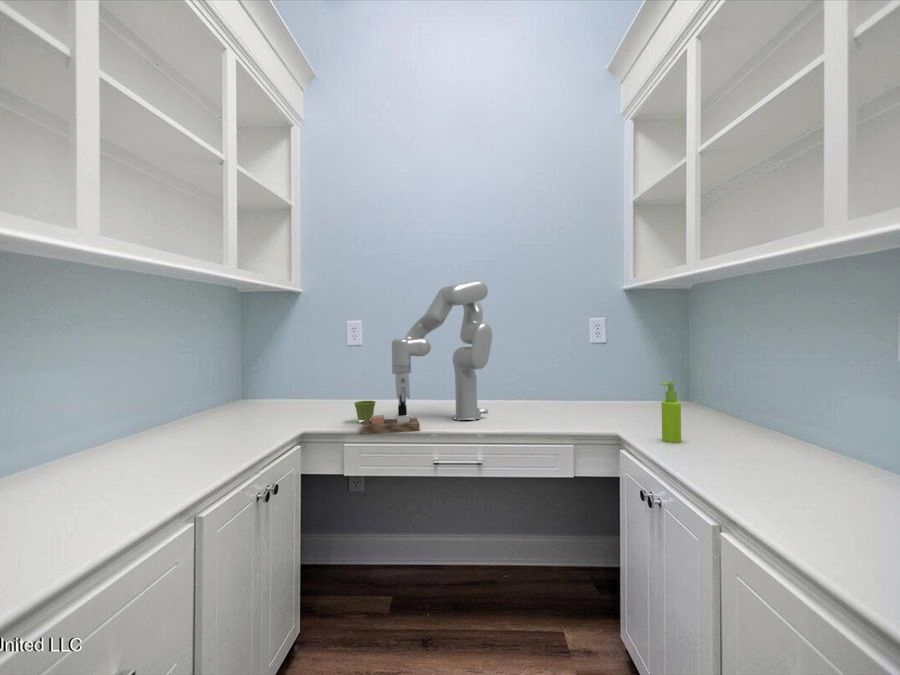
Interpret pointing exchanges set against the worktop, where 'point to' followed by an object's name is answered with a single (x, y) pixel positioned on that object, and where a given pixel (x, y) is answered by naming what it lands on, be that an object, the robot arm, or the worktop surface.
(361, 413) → the plant pot
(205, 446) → the worktop surface
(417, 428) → the brown rectangular frame
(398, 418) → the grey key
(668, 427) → the soap dispenser
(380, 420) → the terracotta key
